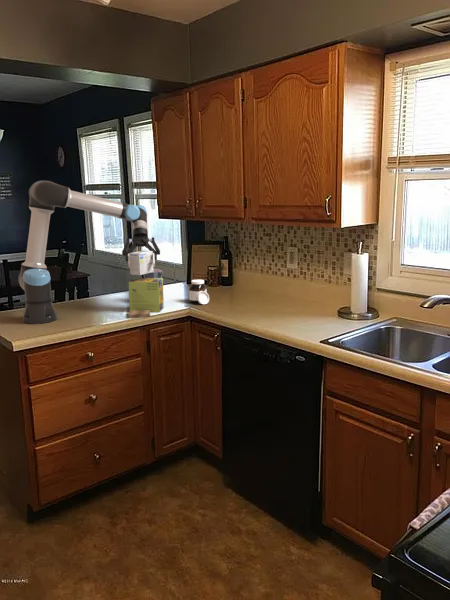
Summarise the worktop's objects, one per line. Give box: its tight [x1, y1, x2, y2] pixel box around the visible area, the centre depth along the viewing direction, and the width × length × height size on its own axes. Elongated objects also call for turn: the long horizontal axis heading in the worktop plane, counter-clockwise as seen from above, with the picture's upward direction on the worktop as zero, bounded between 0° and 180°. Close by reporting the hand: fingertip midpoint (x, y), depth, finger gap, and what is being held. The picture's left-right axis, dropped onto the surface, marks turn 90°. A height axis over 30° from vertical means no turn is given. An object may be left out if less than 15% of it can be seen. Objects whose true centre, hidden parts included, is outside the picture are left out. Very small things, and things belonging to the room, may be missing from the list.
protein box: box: [128, 277, 165, 313], centre depth 264 cm, size 10×15×16 cm
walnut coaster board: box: [128, 310, 151, 319], centre depth 254 cm, size 10×8×2 cm
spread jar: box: [188, 279, 210, 305], centre depth 279 cm, size 12×11×12 cm
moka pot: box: [141, 266, 164, 278], centre depth 280 cm, size 10×15×20 cm, turn 60°
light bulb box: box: [129, 250, 154, 276], centre depth 261 cm, size 11×7×11 cm, turn 148°
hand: (141, 265), depth 259 cm, fingers closed on light bulb box, 11 cm apart
